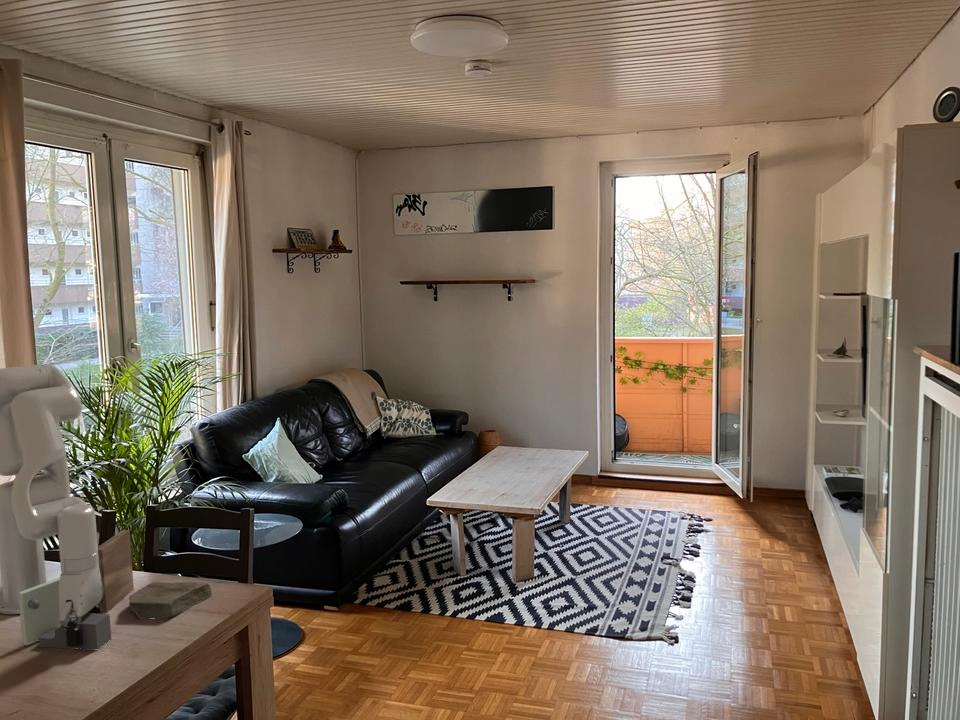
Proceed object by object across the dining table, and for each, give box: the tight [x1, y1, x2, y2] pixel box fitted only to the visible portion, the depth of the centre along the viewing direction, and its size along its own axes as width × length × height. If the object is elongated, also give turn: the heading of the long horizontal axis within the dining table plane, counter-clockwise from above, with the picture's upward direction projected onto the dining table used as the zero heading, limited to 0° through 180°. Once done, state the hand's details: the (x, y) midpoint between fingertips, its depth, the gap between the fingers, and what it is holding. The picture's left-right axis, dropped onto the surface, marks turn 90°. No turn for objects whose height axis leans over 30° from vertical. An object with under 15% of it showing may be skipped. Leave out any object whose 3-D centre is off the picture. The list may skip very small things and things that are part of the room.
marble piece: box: [128, 581, 213, 620], centre depth 192 cm, size 17×15×4 cm
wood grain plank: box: [98, 529, 135, 614], centre depth 194 cm, size 2×14×16 cm, turn 178°
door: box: [18, 576, 77, 646], centre depth 178 cm, size 3×18×12 cm, turn 150°
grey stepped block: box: [38, 613, 112, 650], centre depth 173 cm, size 14×5×6 cm, turn 82°
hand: (85, 636), depth 174 cm, fingers open, 7 cm apart
